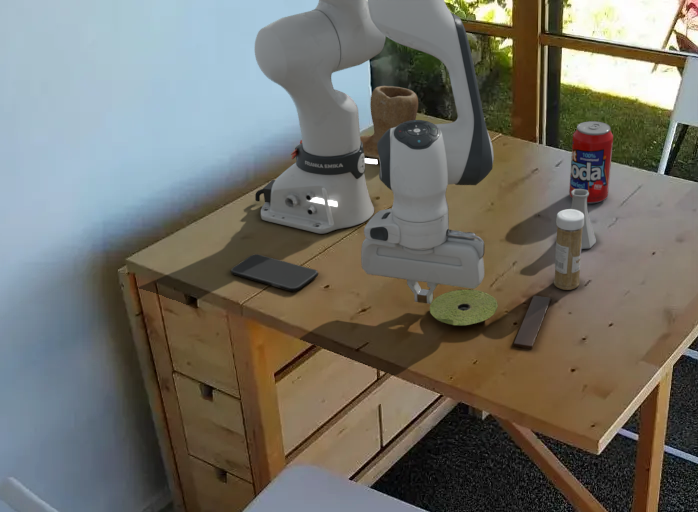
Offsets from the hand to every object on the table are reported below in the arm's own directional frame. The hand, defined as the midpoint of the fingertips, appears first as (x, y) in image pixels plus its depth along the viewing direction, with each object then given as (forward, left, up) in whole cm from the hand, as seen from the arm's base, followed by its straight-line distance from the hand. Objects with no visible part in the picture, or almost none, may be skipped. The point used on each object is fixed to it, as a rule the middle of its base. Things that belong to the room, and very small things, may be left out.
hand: (423, 301), depth 156 cm
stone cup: (-28, +60, -2) cm, 66 cm away
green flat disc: (+7, 0, -2) cm, 7 cm away
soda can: (+19, +49, -2) cm, 53 cm away
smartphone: (-29, +4, -2) cm, 30 cm away
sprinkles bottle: (+21, +14, -2) cm, 26 cm away
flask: (+20, +30, -2) cm, 36 cm away
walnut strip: (+18, +1, -2) cm, 18 cm away
